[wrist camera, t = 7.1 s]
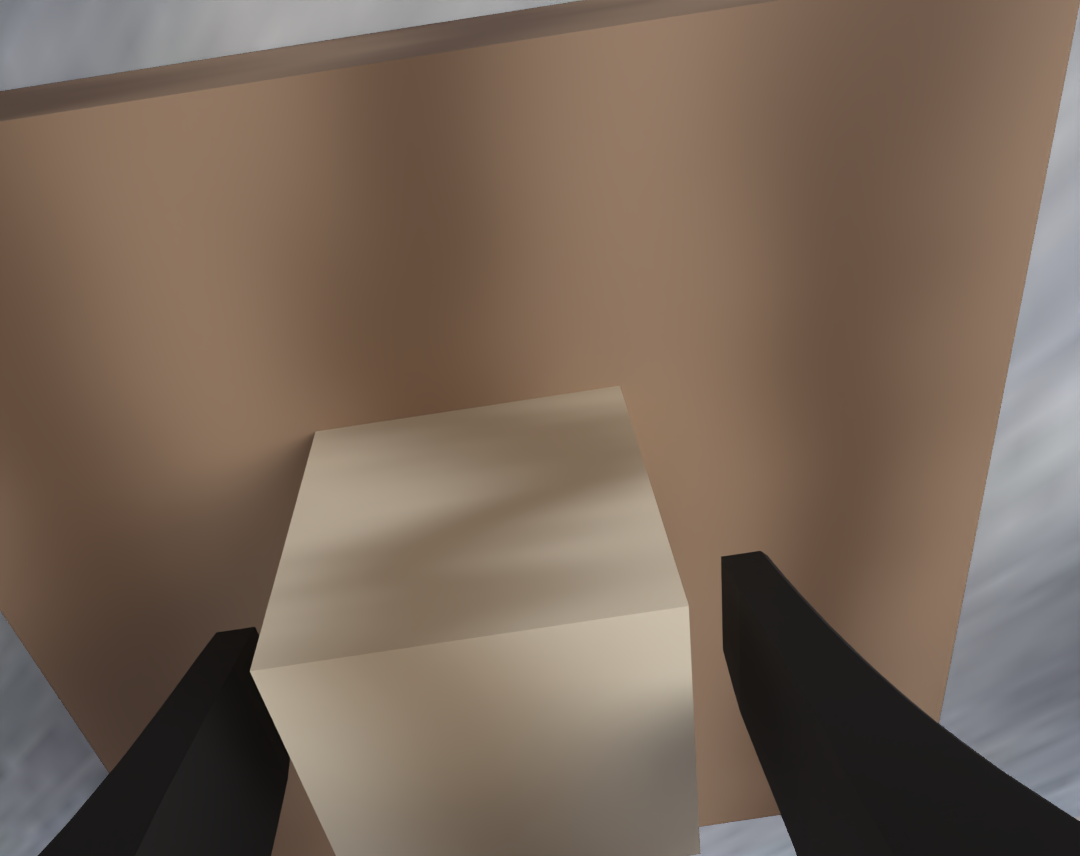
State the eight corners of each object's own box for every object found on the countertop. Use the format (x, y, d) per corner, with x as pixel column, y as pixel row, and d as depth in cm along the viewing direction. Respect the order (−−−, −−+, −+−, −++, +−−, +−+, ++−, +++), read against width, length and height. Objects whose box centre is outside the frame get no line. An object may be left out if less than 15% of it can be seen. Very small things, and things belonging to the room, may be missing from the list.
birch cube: (620, 386, 14) (688, 606, 9) (639, 606, 16) (700, 854, 12) (315, 431, 14) (249, 671, 10) (385, 644, 16) (358, 904, 12)
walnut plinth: (971, -60, 13) (1089, -49, 11) (874, 694, 23) (925, 793, 21) (-153, 114, 13) (-296, 167, 11) (224, 791, 23) (195, 901, 21)
